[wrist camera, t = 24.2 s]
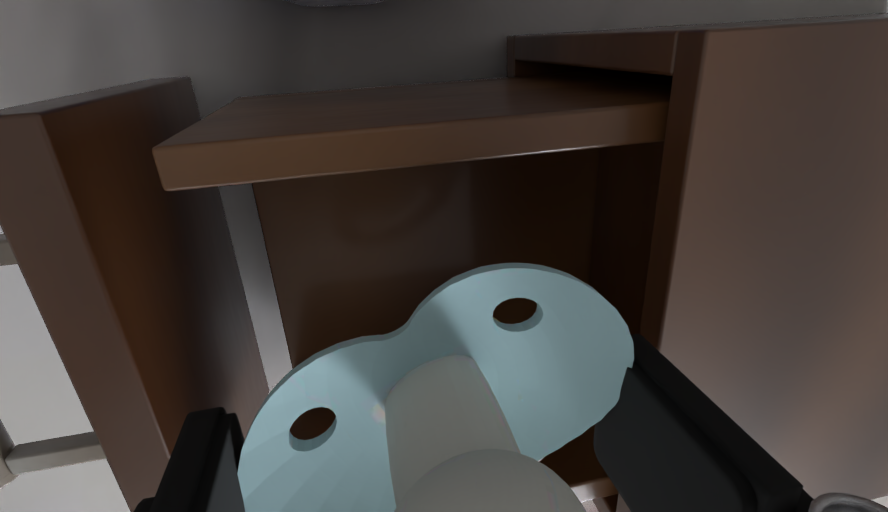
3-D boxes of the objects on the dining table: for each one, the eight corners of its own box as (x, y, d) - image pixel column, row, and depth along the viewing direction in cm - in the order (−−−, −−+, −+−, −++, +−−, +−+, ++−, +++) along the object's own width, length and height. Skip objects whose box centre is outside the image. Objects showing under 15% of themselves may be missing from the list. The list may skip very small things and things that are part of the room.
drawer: (89, 420, 19) (-81, 682, 11) (-61, 92, 14) (-551, 156, 6) (587, 337, 23) (722, 493, 15) (610, 47, 18) (833, 52, 10)
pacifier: (620, 390, 12) (535, 195, 10) (861, 685, 7) (827, 424, 4) (368, 531, 12) (212, 378, 10) (405, 933, 7) (65, 848, 4)
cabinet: (506, 349, 23) (626, 562, 14) (506, 35, 18) (707, 28, 8) (807, 298, 26) (1081, 448, 16) (889, 12, 20) (1376, -13, 11)
